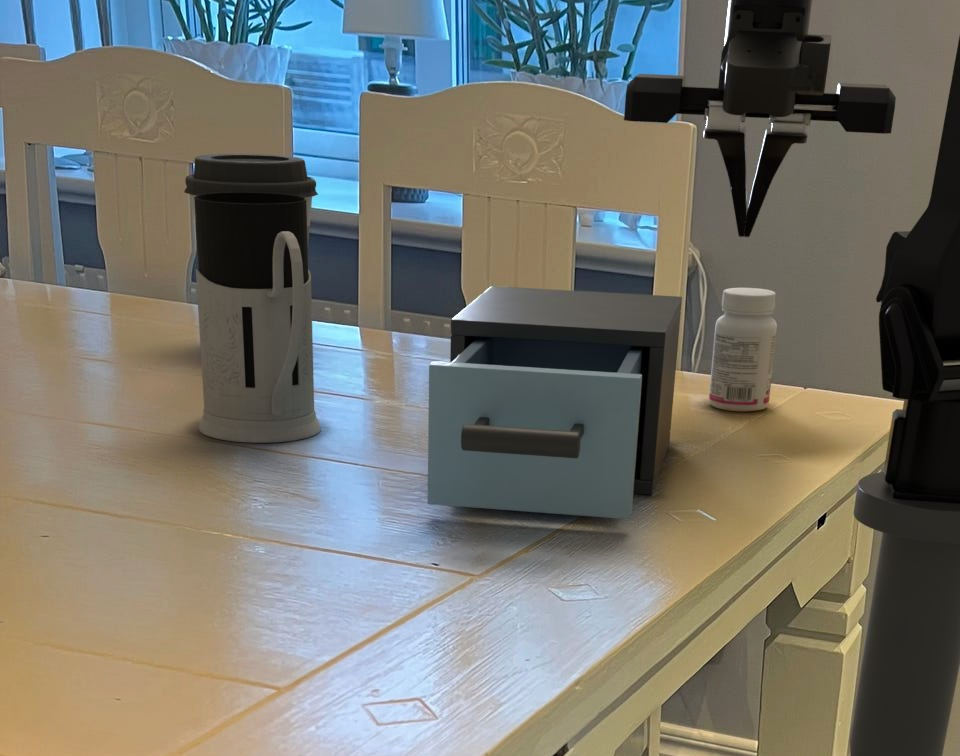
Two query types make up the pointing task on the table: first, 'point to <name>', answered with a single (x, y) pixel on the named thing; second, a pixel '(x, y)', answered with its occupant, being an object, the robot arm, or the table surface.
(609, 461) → the drawer
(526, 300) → the cabinet
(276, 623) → the table surface
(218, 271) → the glass holder
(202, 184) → the coffee cup
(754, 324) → the pill bottle
